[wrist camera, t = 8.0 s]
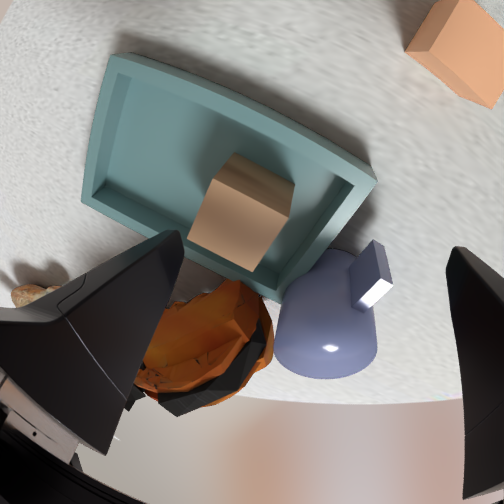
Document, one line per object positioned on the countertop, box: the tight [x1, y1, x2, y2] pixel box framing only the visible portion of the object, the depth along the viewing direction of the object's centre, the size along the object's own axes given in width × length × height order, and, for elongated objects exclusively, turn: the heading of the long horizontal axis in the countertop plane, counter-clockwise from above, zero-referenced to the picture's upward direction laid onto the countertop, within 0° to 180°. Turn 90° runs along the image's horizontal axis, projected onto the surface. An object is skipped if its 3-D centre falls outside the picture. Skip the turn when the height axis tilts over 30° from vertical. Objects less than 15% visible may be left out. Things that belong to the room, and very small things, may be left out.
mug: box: [273, 240, 393, 379], centre depth 21 cm, size 7×10×7 cm
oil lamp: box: [11, 284, 62, 308], centre depth 33 cm, size 9×21×10 cm, turn 119°
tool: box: [124, 279, 274, 417], centre depth 27 cm, size 8×23×15 cm, turn 117°
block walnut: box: [187, 152, 295, 272], centre depth 19 cm, size 4×4×4 cm
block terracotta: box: [405, 0, 504, 109], centre depth 11 cm, size 4×4×4 cm
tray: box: [81, 52, 378, 304], centre depth 20 cm, size 18×12×2 cm, turn 65°
